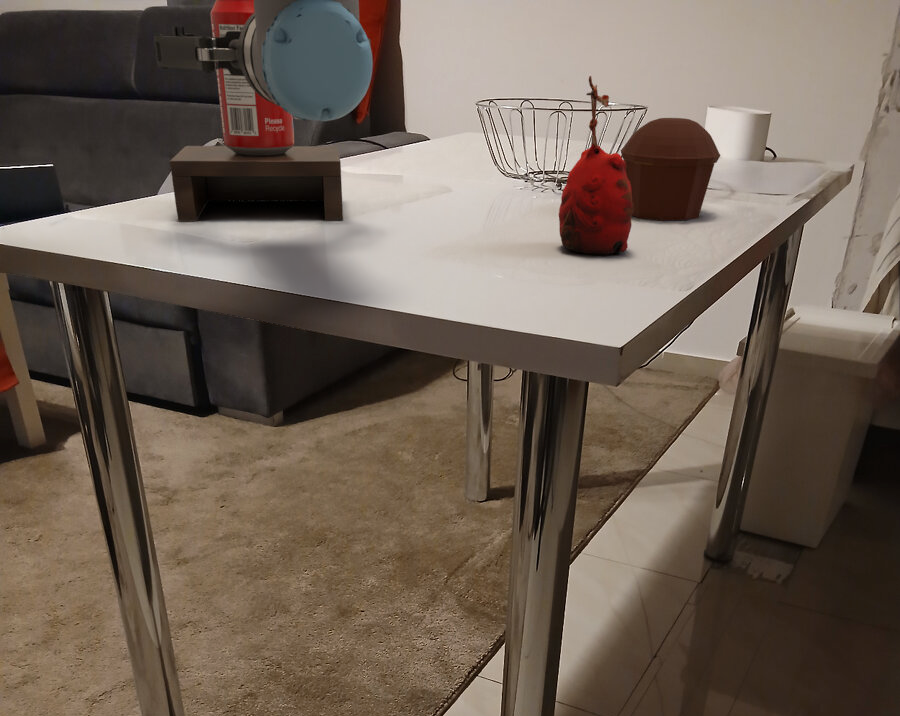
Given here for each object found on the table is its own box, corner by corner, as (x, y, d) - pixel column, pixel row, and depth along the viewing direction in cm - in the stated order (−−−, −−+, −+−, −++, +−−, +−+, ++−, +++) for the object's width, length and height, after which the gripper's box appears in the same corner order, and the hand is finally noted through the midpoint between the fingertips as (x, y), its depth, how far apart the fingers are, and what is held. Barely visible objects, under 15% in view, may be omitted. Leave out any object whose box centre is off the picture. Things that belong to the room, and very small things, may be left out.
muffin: (692, 226, 101) (707, 125, 95) (600, 216, 105) (609, 119, 100) (721, 211, 109) (736, 118, 104) (634, 202, 114) (645, 113, 109)
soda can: (227, 157, 98) (210, -9, 90) (222, 149, 104) (205, -7, 96) (299, 156, 100) (289, -7, 92) (290, 148, 106) (279, -5, 98)
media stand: (177, 221, 98) (169, 160, 95) (192, 200, 110) (185, 145, 107) (343, 220, 100) (340, 161, 97) (339, 199, 112) (337, 146, 109)
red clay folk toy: (644, 253, 88) (666, 76, 80) (594, 261, 85) (612, 77, 77) (588, 239, 93) (604, 72, 85) (539, 247, 90) (550, 73, 82)
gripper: (139, 109, 73) (134, 92, 90) (432, 107, 80) (376, 92, 97) (123, -2, 69) (120, 2, 86) (433, 6, 76) (374, 9, 93)
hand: (255, 50), depth 92 cm, fingers open, 13 cm apart
